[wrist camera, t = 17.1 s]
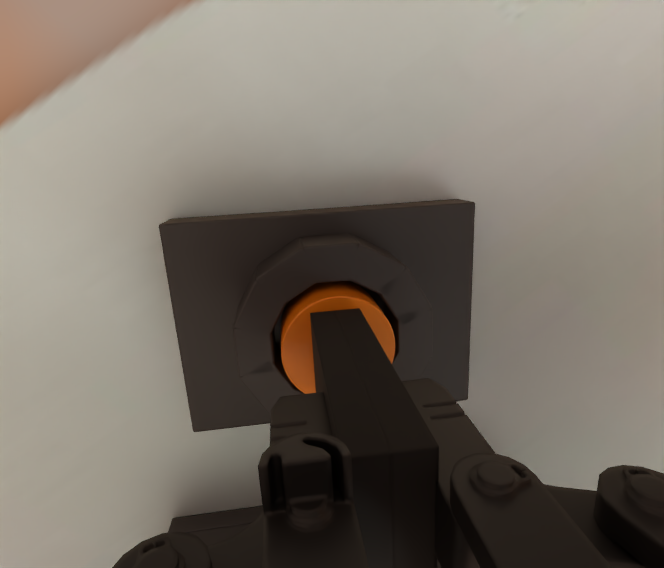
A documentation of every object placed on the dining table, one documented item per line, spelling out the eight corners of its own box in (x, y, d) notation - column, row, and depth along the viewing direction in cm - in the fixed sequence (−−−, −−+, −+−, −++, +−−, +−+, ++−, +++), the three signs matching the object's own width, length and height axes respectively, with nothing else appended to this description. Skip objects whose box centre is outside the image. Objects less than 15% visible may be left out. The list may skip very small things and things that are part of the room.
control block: (169, 218, 16) (138, 233, 12) (458, 198, 17) (504, 207, 13) (199, 411, 18) (181, 468, 14) (454, 382, 19) (491, 429, 16)
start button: (275, 283, 15) (275, 301, 13) (379, 274, 15) (395, 290, 13) (284, 378, 16) (286, 409, 14) (381, 367, 16) (396, 396, 14)
